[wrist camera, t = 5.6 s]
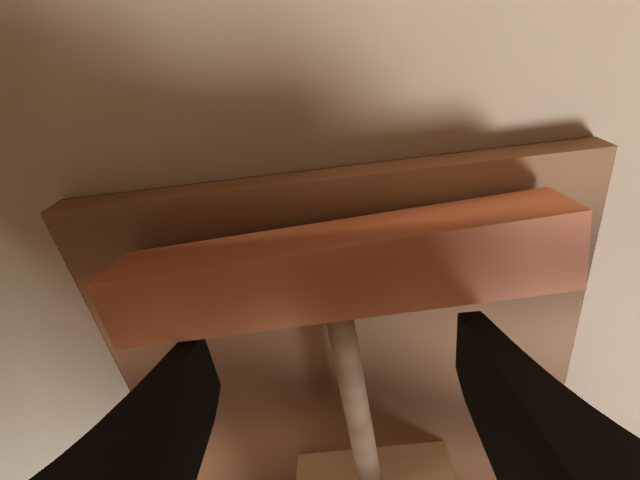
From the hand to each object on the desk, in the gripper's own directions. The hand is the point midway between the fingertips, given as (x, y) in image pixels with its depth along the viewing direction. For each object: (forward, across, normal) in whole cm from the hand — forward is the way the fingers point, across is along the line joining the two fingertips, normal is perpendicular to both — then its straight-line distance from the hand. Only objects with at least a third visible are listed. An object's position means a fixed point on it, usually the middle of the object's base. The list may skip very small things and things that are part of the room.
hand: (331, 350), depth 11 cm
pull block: (+2, -1, +5) cm, 5 cm away
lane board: (+3, 0, +12) cm, 12 cm away
